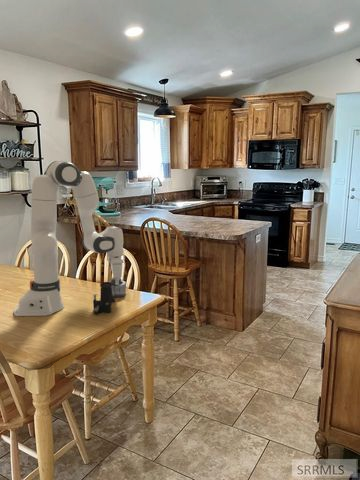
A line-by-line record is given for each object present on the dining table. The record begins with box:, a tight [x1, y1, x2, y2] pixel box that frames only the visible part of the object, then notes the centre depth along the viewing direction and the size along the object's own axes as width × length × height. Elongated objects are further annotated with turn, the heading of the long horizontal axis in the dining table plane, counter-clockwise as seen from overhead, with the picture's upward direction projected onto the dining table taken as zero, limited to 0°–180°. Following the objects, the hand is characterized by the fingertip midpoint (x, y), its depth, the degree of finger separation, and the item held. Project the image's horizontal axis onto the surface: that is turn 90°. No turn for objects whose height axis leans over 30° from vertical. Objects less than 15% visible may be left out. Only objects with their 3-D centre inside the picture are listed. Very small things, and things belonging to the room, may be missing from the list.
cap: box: [110, 277, 122, 285], centre depth 206 cm, size 5×5×6 cm
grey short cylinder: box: [108, 279, 127, 299], centre depth 206 cm, size 10×10×6 cm
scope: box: [92, 281, 116, 315], centre depth 182 cm, size 8×14×10 cm
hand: (116, 281), depth 205 cm, fingers open, 8 cm apart
